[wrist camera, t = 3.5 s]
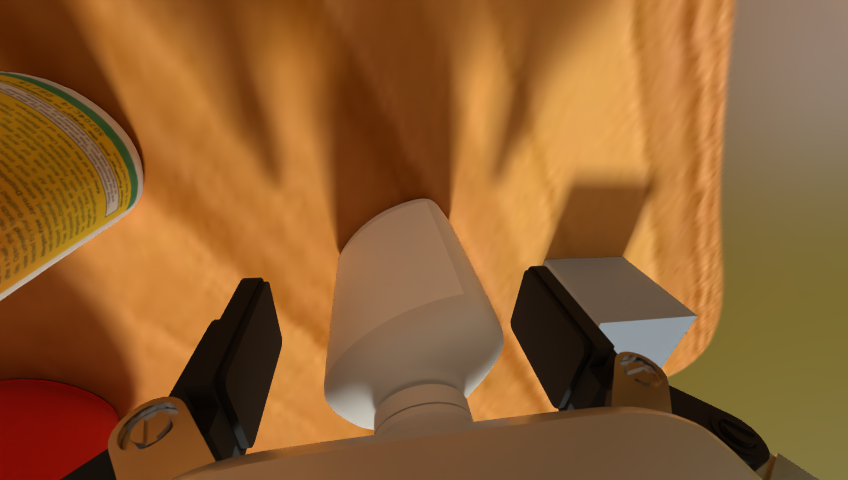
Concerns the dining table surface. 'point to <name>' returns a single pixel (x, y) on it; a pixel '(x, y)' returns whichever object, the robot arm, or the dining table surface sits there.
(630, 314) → the slate block
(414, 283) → the eye dropper bottle
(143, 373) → the dining table surface
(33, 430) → the ceramic cup
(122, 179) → the supplement bottle
